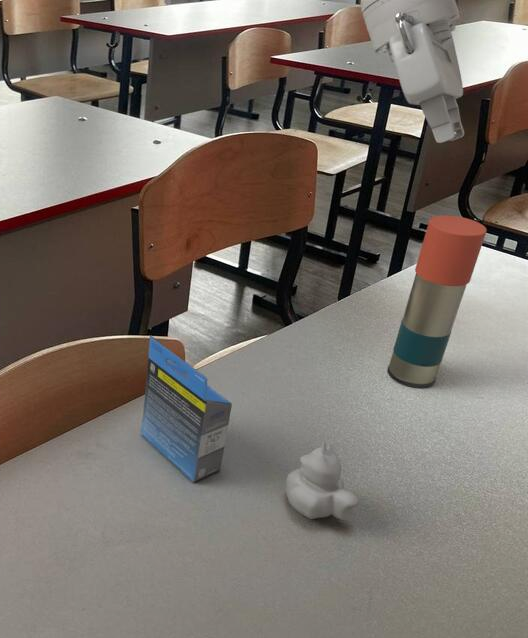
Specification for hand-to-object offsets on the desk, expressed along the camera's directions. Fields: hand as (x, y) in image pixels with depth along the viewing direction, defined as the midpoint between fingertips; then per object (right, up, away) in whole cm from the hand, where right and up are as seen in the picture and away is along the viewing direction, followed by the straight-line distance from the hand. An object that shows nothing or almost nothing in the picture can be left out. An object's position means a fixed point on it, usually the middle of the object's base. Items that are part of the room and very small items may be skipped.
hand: (451, 140), depth 84 cm
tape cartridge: (-31, -34, -6) cm, 46 cm away
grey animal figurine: (-20, -38, -13) cm, 45 cm away
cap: (-1, -15, 0) cm, 15 cm away
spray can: (-1, -27, +7) cm, 28 cm away
